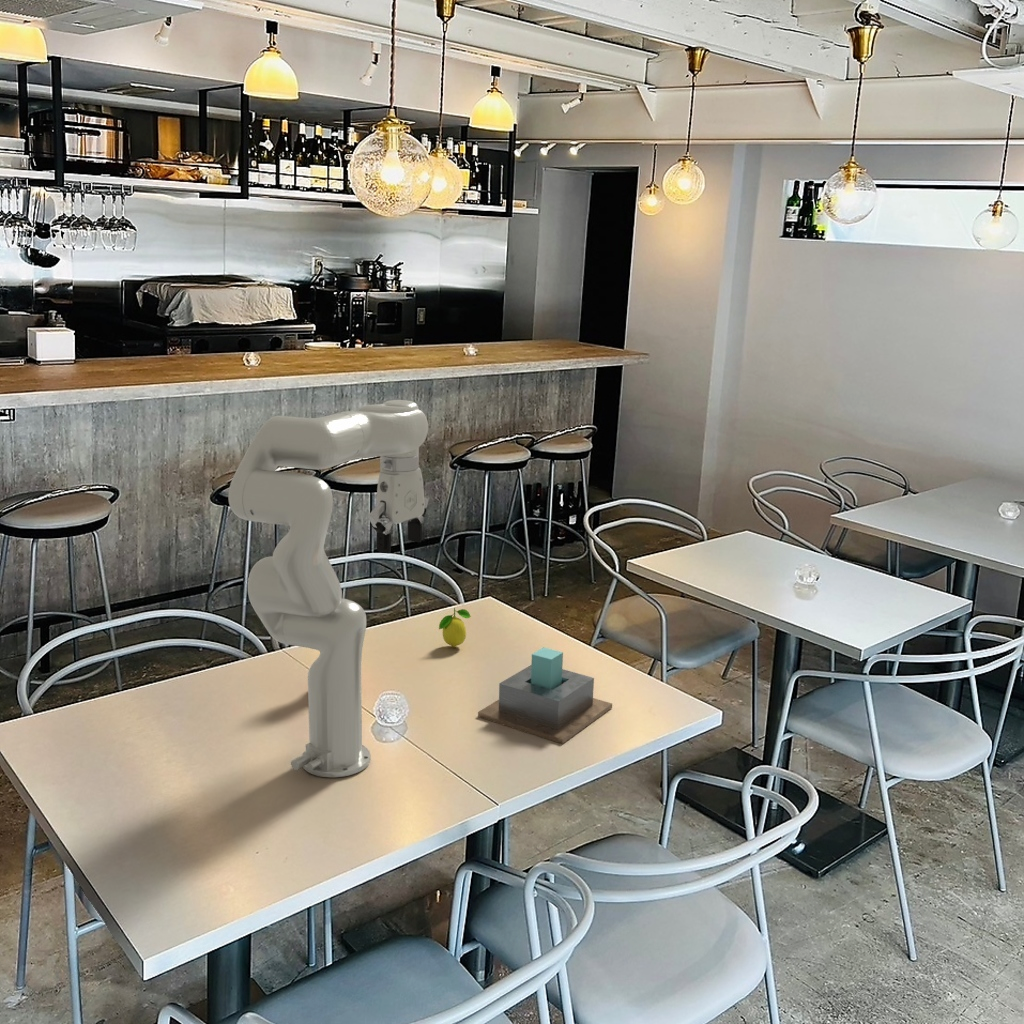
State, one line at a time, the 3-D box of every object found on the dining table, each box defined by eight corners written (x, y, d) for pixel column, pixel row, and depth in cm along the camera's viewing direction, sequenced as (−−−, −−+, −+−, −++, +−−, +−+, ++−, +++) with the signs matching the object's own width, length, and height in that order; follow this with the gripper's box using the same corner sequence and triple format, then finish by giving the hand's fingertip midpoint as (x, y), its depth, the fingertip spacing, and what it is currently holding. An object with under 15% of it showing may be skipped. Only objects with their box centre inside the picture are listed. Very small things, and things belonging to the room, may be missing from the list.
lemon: (470, 643, 253) (470, 603, 251) (466, 652, 247) (467, 612, 245) (442, 641, 254) (442, 602, 251) (438, 650, 248) (438, 610, 245)
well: (562, 744, 204) (564, 710, 203) (478, 716, 215) (478, 684, 213) (612, 708, 220) (613, 676, 219) (531, 684, 231) (532, 654, 229)
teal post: (549, 714, 214) (551, 659, 211) (530, 708, 217) (531, 654, 214) (560, 706, 218) (563, 652, 215) (541, 701, 220) (543, 647, 217)
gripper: (385, 473, 200) (386, 560, 205) (441, 459, 214) (440, 540, 219) (355, 467, 204) (356, 552, 209) (412, 454, 218) (412, 534, 223)
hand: (399, 546), depth 214 cm, fingers open, 9 cm apart
